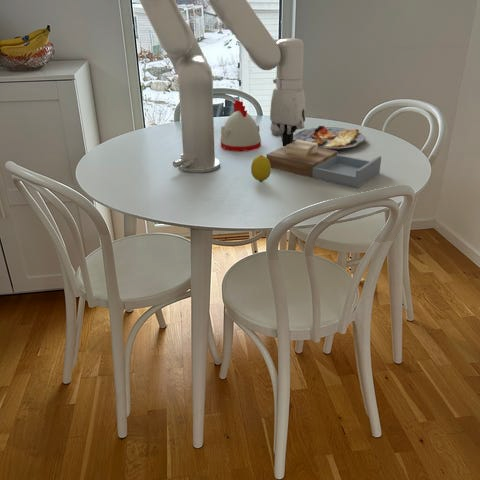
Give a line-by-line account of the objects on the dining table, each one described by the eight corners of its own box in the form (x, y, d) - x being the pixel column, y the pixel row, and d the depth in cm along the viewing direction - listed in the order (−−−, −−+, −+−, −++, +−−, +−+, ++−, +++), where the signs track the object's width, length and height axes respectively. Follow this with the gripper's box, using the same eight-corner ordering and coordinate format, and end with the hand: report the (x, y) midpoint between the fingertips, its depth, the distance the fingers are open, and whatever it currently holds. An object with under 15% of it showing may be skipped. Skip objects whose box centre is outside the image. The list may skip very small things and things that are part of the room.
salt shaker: (268, 135, 182) (269, 99, 176) (272, 131, 187) (272, 96, 181) (284, 136, 181) (285, 100, 175) (287, 132, 185) (288, 96, 179)
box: (357, 188, 136) (359, 171, 133) (312, 177, 143) (313, 161, 141) (379, 172, 146) (381, 156, 144) (336, 163, 154) (337, 148, 151)
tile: (305, 157, 147) (306, 149, 146) (285, 153, 151) (285, 145, 149) (317, 151, 152) (317, 143, 151) (297, 147, 155) (297, 139, 154)
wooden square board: (312, 177, 143) (313, 164, 141) (266, 166, 152) (266, 154, 150) (336, 163, 154) (337, 151, 152) (292, 154, 162) (292, 142, 160)
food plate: (315, 128, 189) (316, 119, 188) (374, 139, 178) (375, 129, 176) (282, 146, 172) (282, 136, 170) (344, 159, 160) (345, 148, 158)
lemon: (264, 187, 137) (265, 159, 133) (247, 183, 140) (247, 156, 136) (274, 181, 141) (274, 153, 138) (257, 177, 144) (257, 150, 140)
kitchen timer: (248, 137, 180) (248, 95, 173) (268, 147, 170) (268, 102, 163) (213, 143, 175) (212, 99, 168) (231, 153, 164) (231, 107, 157)
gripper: (260, 83, 146) (260, 144, 155) (305, 89, 138) (302, 152, 147) (274, 79, 151) (273, 138, 160) (318, 84, 144) (314, 146, 152)
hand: (287, 145), depth 153 cm, fingers closed
